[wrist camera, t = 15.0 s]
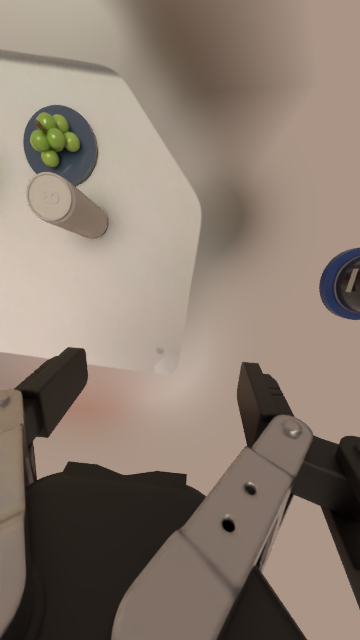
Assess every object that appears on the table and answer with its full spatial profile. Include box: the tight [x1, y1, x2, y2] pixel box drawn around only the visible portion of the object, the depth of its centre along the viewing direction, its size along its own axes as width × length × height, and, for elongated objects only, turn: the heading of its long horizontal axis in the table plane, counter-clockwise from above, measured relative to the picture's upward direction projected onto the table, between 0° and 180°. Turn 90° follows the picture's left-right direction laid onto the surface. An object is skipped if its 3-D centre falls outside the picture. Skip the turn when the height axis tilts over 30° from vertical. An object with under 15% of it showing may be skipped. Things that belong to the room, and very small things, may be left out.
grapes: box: [24, 105, 97, 186], centre depth 31 cm, size 10×10×6 cm
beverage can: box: [26, 172, 107, 238], centre depth 30 cm, size 5×5×12 cm
